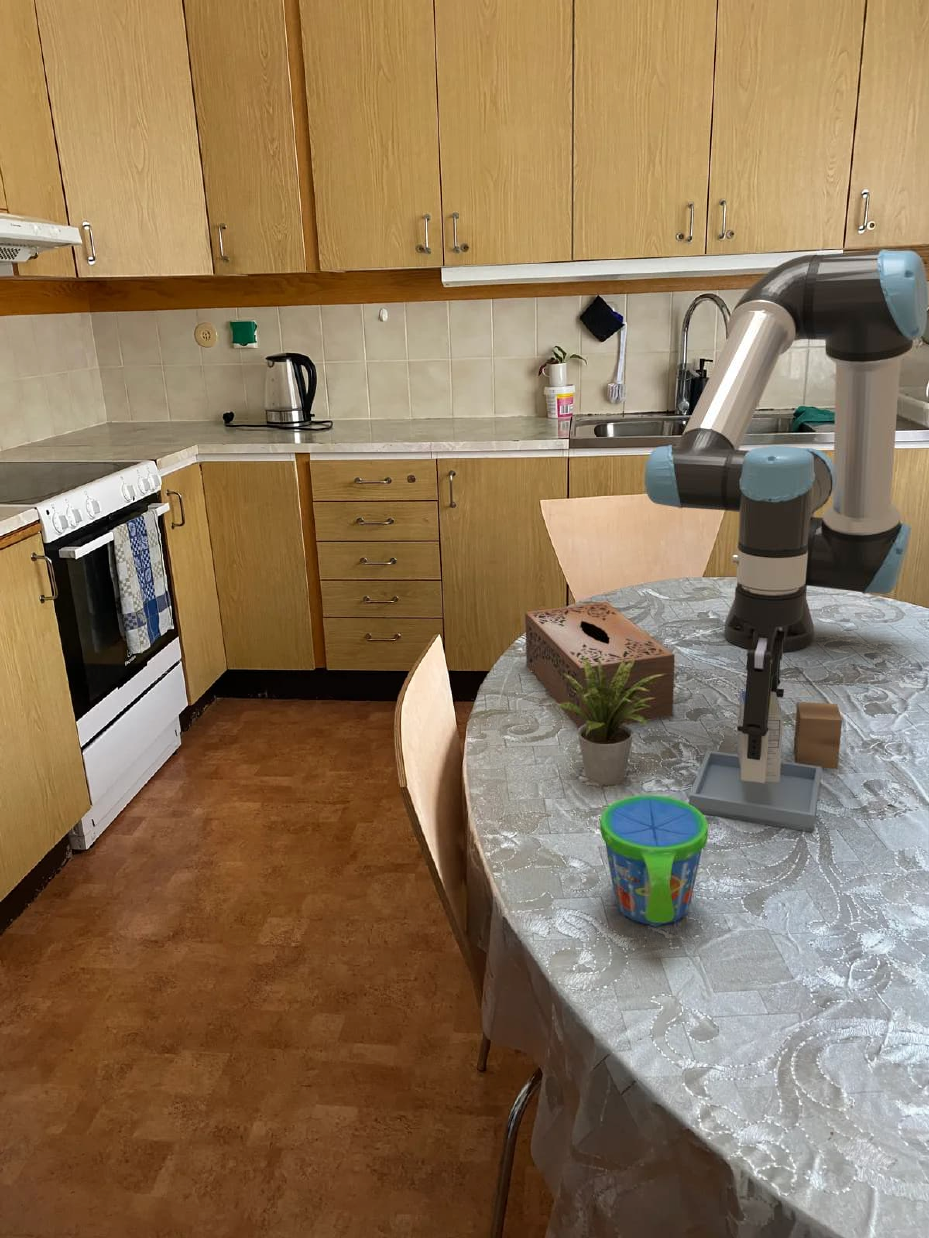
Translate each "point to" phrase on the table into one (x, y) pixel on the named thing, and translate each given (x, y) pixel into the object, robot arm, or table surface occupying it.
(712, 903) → the table surface
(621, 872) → the snack cup
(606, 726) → the house plant
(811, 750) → the walnut block
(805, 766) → the grey tray
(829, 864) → the table surface
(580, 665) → the tissue box cover
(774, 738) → the medicine box
